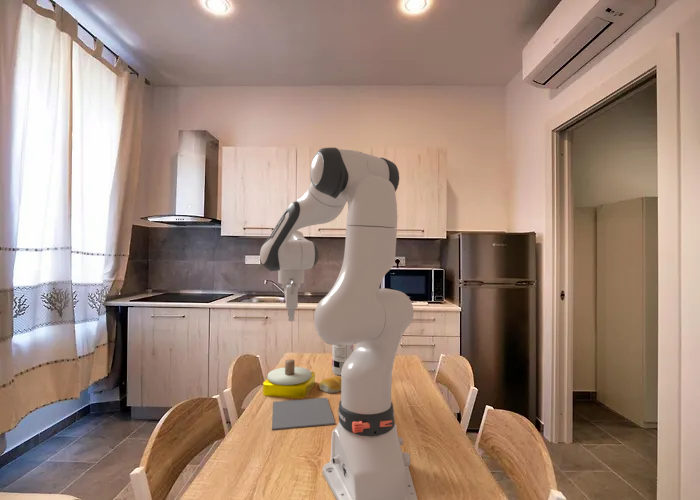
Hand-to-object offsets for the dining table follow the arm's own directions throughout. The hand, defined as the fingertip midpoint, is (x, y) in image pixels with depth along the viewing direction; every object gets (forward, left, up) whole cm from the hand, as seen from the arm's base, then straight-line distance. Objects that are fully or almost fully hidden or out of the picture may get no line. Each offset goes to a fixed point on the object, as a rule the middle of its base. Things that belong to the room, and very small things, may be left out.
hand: (290, 318), depth 119 cm
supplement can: (+14, -21, -25) cm, 35 cm away
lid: (+1, 0, -20) cm, 20 cm away
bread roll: (-1, -15, -25) cm, 29 cm away
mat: (-18, -3, -25) cm, 31 cm away
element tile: (+2, 0, -25) cm, 25 cm away
